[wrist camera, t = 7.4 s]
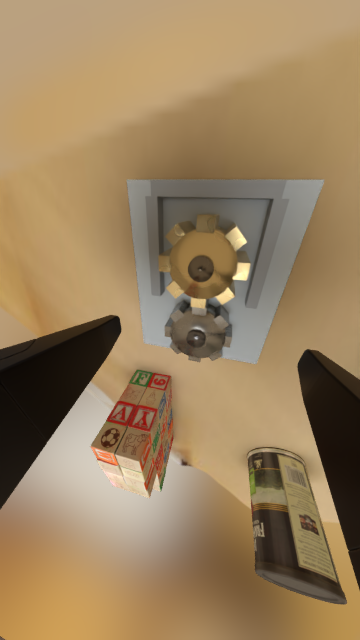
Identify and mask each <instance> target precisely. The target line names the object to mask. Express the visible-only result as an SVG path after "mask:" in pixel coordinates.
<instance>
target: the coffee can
mask: <svg viewBox="0 0 360 640" xmlns="http://www.w3.org/2000/svg"><path fill="white" fill-rule="evenodd" d="M247 459H248V468H249V481H250V494H251V508H252V521H253V535H254V548H255V572H256V573H257V574H258V575H259V576H260V577H262V578H264V579H265V580H267V581H269V582H272V583H274V584H276V585H278V586H281V587H284V588H286V589H288V590H291V591H294V592H297V593H299V594H302V595H305V596H309V597H312V598H315V599H318V600H322V601H325V602H330V603H334V604H347V600H346V597H345V594H344V592H343V591H342V588H341V585H340V582H339V578H338V575H337V571H336V568H335V565H334V562H333V558H332V555H331V551H330V548H329V545H328V541H327V538H326V535H325V531H324V528H323V524H322V521H321V518H320V514H319V511H318V508H317V505H316V501H315V498H314V494H313V491H312V488H311V484H310V481H309V478H308V474H307V471H306V468H305V463H304V461H303V460H302V459H301V458H300V457H299V456H297V455H295V454H293V453H291V452H288V451H285V450H281V449H276V448H258V449H254V450H252V451H250V452H249V453H248V455H247Z"/></svg>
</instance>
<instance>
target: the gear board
mask: <svg viewBox="0 0 360 640" xmlns="http://www.w3.org/2000/svg"><path fill="white" fill-rule="evenodd" d="M323 183H324V180H127V188H128V197H129V207H130V216H131V226H132V235H133V244H134V254H135V263H136V273H137V282H138V292H139V301H140V311H141V320H142V329H143V339H144V343H146V344H151V345H156V346H162V347H167V348H171V347H170V344H171V342H172V340H171V337H165V328H164V326H165V324H166V323H167V321H168V319H169V317H170V314H171V313H172V311H173V309H174V307H175V306H176V305H177V304H179V303H180V302H181V301H182V300H185V301H186V302H187V303H188V304H189V303H191V297H190V296H188V295H186V294H184V293H182V294H181V295H180V296H178V297H177V298H176V299H175V298H174V296H173V295H172V294H171V293H170V292H169V291H168V290H167V289H166V287H167V286H168V285H169V283H170V282H171V281H172V278H171V275H170V272H160V271H159V260H158V255H160V254H161V253H163V252H165V251H166V250H168V249H170V248H171V247H173V245H172V244H171V243H170V242H169V241H168V239H167V238H166V237H165V236H166V235H167V234H168V233H169V232H170V230H171V229H172V228H173V227H174V226H175V225H176V224H177V223H180V222H185V221H191V223H192V224H193V225H194V226H195V228H196V225H197V214H220V217H219V224H218V226H219V227H221V228H223V229H224V230H227V229H228V228H229V227H230V226H231V225H233V224H234V223H235V224H236V225H237V227H238V228H239V230H240V231H241V232H242V234H243V236H244V237H245V239H246V241H247V243H245V244H244V245H243V246H242V247H240V248H239V249H238V250H237V251H246V253H247V255H248V258H249V260H250V262H251V265H250V270H249V274H248V278H247V281H245V280H236V279H234V285H235V297H234V298H232V299H231V300H229V301H228V302H226V303H224V304H223V305H222V306H223V307H224V308H225V309H226V310H227V312H228V313H229V324H231V325H232V341H231V345H230V348H228V347H223V355H222V357H221V358H226V359H231V360H237V361H242V362H247V363H253V364H257V361H258V359H259V356H260V353H261V350H262V348H263V345H264V342H265V340H266V337H267V334H268V332H269V329H270V326H271V323H272V321H273V318H274V315H275V313H276V310H277V307H278V305H279V302H280V299H281V296H282V294H283V291H284V288H285V286H286V283H287V280H288V278H289V275H290V272H291V269H292V267H293V264H294V261H295V259H296V256H297V253H298V251H299V248H300V245H301V242H302V240H303V237H304V234H305V232H306V229H307V226H308V224H309V221H310V218H311V215H312V213H313V210H314V207H315V205H316V202H317V199H318V197H319V194H320V191H321V188H322V186H323ZM209 304H211V305H213V306H214V307H218V306H219V305H221V303H220V302H219V301H218V300H217V298H216V297H213V298H210V299H209Z"/></svg>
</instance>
